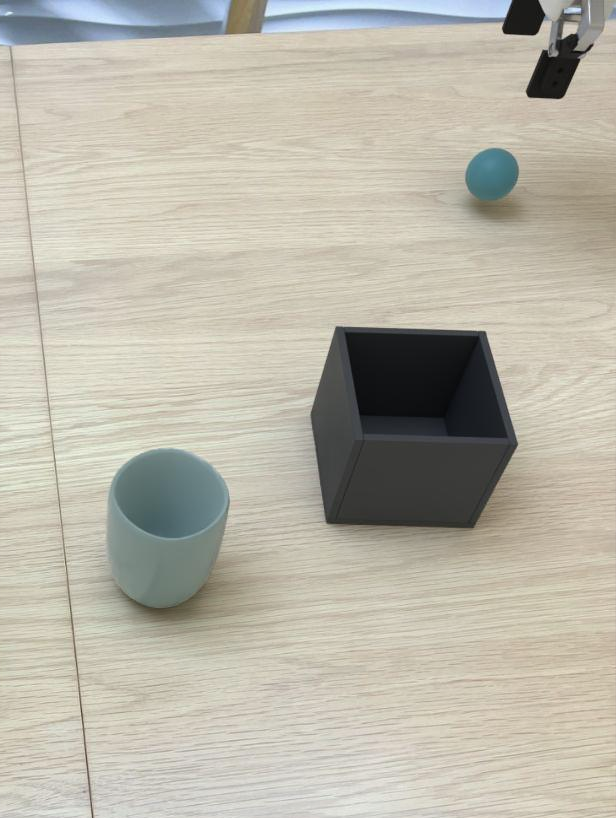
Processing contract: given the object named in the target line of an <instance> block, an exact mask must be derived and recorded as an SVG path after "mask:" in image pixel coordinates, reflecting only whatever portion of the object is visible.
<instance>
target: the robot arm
mask: <svg viewBox="0 0 616 818" xmlns="http://www.w3.org/2000/svg"><path fill="white" fill-rule="evenodd" d="M615 6H616V0H511V2H510V4H509V8H508V10H507V12H506V16H505V18H504V21H503V24H502V25H501V31H502V33H503V34H504V35H510V36H529V37H534V36H537V35H538V34H539V33H540V30H541V28H542V25H543V22H544V20H545V18H546V17H547V18H548V19H549V20H550V22H551V25H550V32H549V40H548V46H547V49H542V50H541V53H540V55H539V58H538V60H537V62H536V65H535V67H534V70H533V72H532V74H531V76H530V79H529V82H528V84H527V86H526V89H525V94H526V96H527V98H529V99H543V100H544V99H545V100H547V99H548V100H561V99H563V98H565V96H566V94H567V92H568V89H569V87H570V85H571V82H572V80H573V78H574V76H575V73H576V71H577V69H578V67H579V64H580V62H581V60H583V59H584V58H585V57H586V56H587V53H588V52H590V51H591V50H592V48H593V47H594V45H595V42H596V40H597V39H598V38H599V37H600V36H601V35H602V33H603V32H604V30H605V25H606V22H607V21H608V19H609V18H610V17H611V14H612V12H613V10H614V9H615ZM570 8H571V9H580V13H570V12H565V10H568V9H570ZM565 25H571V26H573V25H575V26H577V28H576V32H575V33H570V34H568V35H566V36H565V37H564V38H563V33H564V27H565Z"/></svg>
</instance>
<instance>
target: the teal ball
mask: <svg viewBox="0 0 616 818" xmlns="http://www.w3.org/2000/svg"><path fill="white" fill-rule="evenodd" d="M519 176H520V167H519V163H518V160H517V159H516V158H515V155H513V153H511V152H509V151H508V150H506V149H503V148H499V147H491V148H487V149H484V150H481V151H480V152H478V153H476V154H475V155H474V156H473V158H471V160H470V161H469V163H468V165H467V167H466V170H465V178H464V179H465V185H466V188H467V190H468V192H469V193H470V194H471V195H472V196H473V197H475V198H476V199H478V200H481V201H485V202H493V201H498V200H500V199H503V198H504V197H506V196H508V195H509V194H510V193H511V192H512V191H513V190H514V188H515V187H516V185H517V182H518V180H519Z"/></svg>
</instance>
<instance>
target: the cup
mask: <svg viewBox="0 0 616 818" xmlns="http://www.w3.org/2000/svg"><path fill="white" fill-rule="evenodd" d="M109 485H110V486H109V490H108V494H107V503H106V515H105V516H106V517H105V552H106V554H105V555H106V560H107V561H106V562H107V564H108V568H109V570H110V574H111V576H112V578H113V579H114V581H115V583H116V584H117V586H118V587H119V588H120V590H121V591H122V592H123V593H124V594H125V595H126V596H128V597H129V598H130V599H131V600H133V601H134V602H136V603H138V604H140V605H142V606H145V607H147V608H154V609H168V608H172V607H176V606H178V605H180V604H183V603H184V602H186V601H189V599H191V598H192V597H194V595H196V593H197V594H198V592H199V591H200V590H201V589H202V587H203V586H204V585H205V584H206V582H207V580H208V579H209V577H210V575H211V573H212V571H213V569H214V567H215V565H216V563H217V560H218V557H219V554H220V551H221V548H222V544H223V539H224V535H225V531H226V526H227V522H228V517H229V510H230V503H231V499H230V492H229V488H228V485H227V483H226V481H225V479H224V478H223V477H222V475H221V474H220V472H219V471H218V470H216V469H215V467H214V466H213V465H212V464H211V463H209V462H208V461H207V460H205V459H204V458H203V457H200V456H199V455H196V454H194V453H192V452H190V451H188V450H184V449H179V448H174V447H160V448H155V449H154V448H153V449H150V450H147V451H144V452H141V453H139V454H137V455H135V456H133V457H132V458H130V459H129V460H128V461H126V462H125V463H123V464H122V465H121V467H120V468H119V469H117V471H116V472H115V474H114V475H113V478H112V480H111V481H110V484H109Z"/></svg>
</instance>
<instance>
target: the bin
mask: <svg viewBox="0 0 616 818" xmlns="http://www.w3.org/2000/svg"><path fill="white" fill-rule="evenodd" d="M501 383H502V382H501V380H500V376H499V372H498V369H497V366H496V362H495V359H494V355H493V352H492V348H491V345H490V342H489V338H488V335H487V331H486V330H474V329H473V330H471V329H469V330H468V329H440V328H439V329H437V328H435V329H434V328H407V327H405V328H404V327H371V326H341V325H336V326H335V327H334V331H333V335H332V338H331V341H330V345H329V348H328V352H327V355H326V358H325V362H324V365H323V369H322V371H321V376H320V380H319V382H318V385H317V389H316V393H315V396H314V399H313V403H312V407H311V410H310V420H311V427H312V435H313V442H314V449H315V456H316V461H317V468H318V477H319V483H320V490H321V497H322V503H323V510H324V511H323V512H324V517H325V518H324V519H325V523H326V524H331V525H333V524H334V525H365V526H367V525H369V526H403V527H431V528H433V527H435V528H436V527H437V528H467V529H468V528H469V529H474V528H475V526H476V525H477V523H478V521H479V519H480V518H481V515H482V513H483V511H484V510H485V508H486V506H487V504H488V502H489V500H490V498H491V497H492V494H493V493H494V491H495V489H496V487H497V485H498V483H499V481H500V480H501V478H502V476H503V474H504V472H505V470H506V468H507V467H508V465H509V463H510V461H511V459H512V458H513V455H514V454H515V452H516V450H517V448H518V447H519V442H518V439H517V435H516V432H515V428H514V424H513V421H512V418H511V414H510V411H509V407H508V404H507V400H506V397H505V393H504V391H503V386H502V384H501Z"/></svg>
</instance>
